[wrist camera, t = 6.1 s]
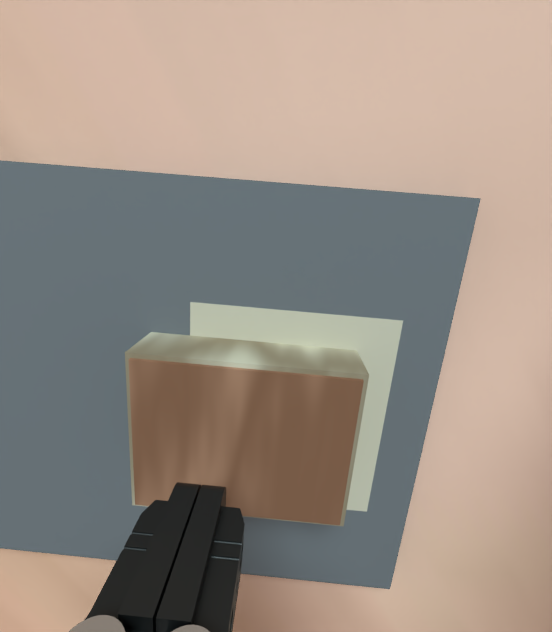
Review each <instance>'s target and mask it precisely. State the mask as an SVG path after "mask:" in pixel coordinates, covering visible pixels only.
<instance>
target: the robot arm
mask: <svg viewBox="0 0 552 632" xmlns="http://www.w3.org/2000/svg"><path fill="white" fill-rule="evenodd" d="M244 527H245V524H244V520H243V517H242V513H241V510H240V508H234V507H226V487H222V486H212V485H201V484H191V483H181V482H177V483H176V484H175V486H174V488H173V491H172V493H171V495H170V497H169V500H168V501H163V500H155V501H154V502H153V503H152V504H151V505H150V506H149V507H147V508H146V509H145V510H144V511H143V512H142V513H141V515H140V517H139V519H138V521H137V522H136V524H135V526H134V528H133V530H132V534H131V535H130V536H129V538H128V540H127V542H126V544H125V546H124V549H123V550H122V551H121V553H120V555H119V557H118V559H117V561H116V563H115V565H114V567H113V569H112V571H111V573H110V575H109V577H108V579H107V580H106V582H105V584H104V586H103V588H102V590H101V592H100V594H99V596H98V598H97V600H96V602H95V604H94V606H93V608H92V609H91V611H90V613H89V615H88V616H87V617H86V619H85V620H84V621H82V622H80V623H79V624H77V625H76V626H75V627H73V628H72V629H71V630H70V631H69V632H232V629H233V622H234V615H235V608H236V601H237V595H238V588H239V581H240V574H241V567H242V557H243V542H244Z"/></svg>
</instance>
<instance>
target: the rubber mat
mask: <svg viewBox="0 0 552 632" xmlns="http://www.w3.org/2000/svg"><path fill="white" fill-rule="evenodd" d="M479 203H480V199H479V198H467V197H454V196H441V195H429V194H416V193H404V192H391V191H378V190H366V189H353V188H340V187H328V186H315V185H302V184H290V183H277V182H264V181H252V180H239V179H226V178H214V177H201V176H188V175H176V174H163V173H151V172H138V171H125V170H113V169H100V168H87V167H75V166H62V165H49V164H37V163H24V162H11V161H0V548H4V549H13V550H23V551H32V552H42V553H51V554H61V555H70V556H80V557H89V558H99V559H108V560H117V559H118V557H119V555H120V553H121V551H122V550H123V549H124V546H125V544H126V542H127V540H128V538H129V536H130V535H131V534H132V530H133V528H134V526H135V524H136V522H137V521H138V519H139V517H140V515H141V513H142V512H143V511H144V510H145V509H146V508H147V507H146V506H136V505H132V491H131V470H130V449H129V429H128V408H127V387H126V367H125V352H126V351H127V350H129V349H130V348H131V347H132V346H134V345H135V344H136V343H138V342H139V341H140V340H141V339H143V338H144V337H145V336H147V335H148V334H149V333H150V332H158V333H169V334H180V335H191V336H202V337H213V338H225V339H236V340H247V341H258V342H269V343H280V344H291V345H303V346H314V347H325V348H336V349H347V350H357V352H358V354H359V356H360V357H361V359H362V361H363V363H364V365H365V367H366V369H367V371H368V373H369V379H368V385H367V391H366V397H365V403H364V409H363V415H362V421H361V427H360V433H359V438H358V444H357V450H356V456H355V462H354V468H353V474H352V480H351V486H350V492H349V497H348V503H347V509H346V515H345V521H344V527H343V526H333V525H323V524H313V523H303V522H293V521H283V520H274V519H264V518H254V517H244V516H242V517H243V520H244V524H245V527H244V542H243V557H242V567H241V574H251V575H260V576H270V577H279V578H289V579H298V580H308V581H317V582H327V583H336V584H346V585H355V586H365V587H374V588H384V589H390V586H391V582H392V577H393V573H394V569H395V565H396V560H397V556H398V552H399V547H400V543H401V539H402V534H403V530H404V526H405V521H406V517H407V513H408V509H409V504H410V500H411V496H412V491H413V487H414V483H415V478H416V474H417V470H418V465H419V461H420V457H421V453H422V448H423V444H424V440H425V435H426V431H427V427H428V422H429V418H430V414H431V410H432V405H433V401H434V397H435V392H436V388H437V384H438V379H439V375H440V371H441V366H442V362H443V358H444V354H445V349H446V345H447V341H448V336H449V332H450V328H451V323H452V319H453V315H454V310H455V306H456V302H457V298H458V293H459V289H460V285H461V280H462V276H463V272H464V267H465V263H466V259H467V254H468V250H469V246H470V242H471V237H472V233H473V229H474V224H475V220H476V216H477V211H478V207H479Z"/></svg>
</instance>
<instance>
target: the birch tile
mask: <svg viewBox="0 0 552 632" xmlns="http://www.w3.org/2000/svg"><path fill="white" fill-rule="evenodd" d="M125 367H126V387H127V408H128V429H129V449H130V470H131V491H132V505H136V506H146V507H149V506H150V505H151V504H152V503H153V502H154V501H155V500H163V501H168V500H169V497H170V495H171V493H172V491H173V488H174V486H175V484H176V483H177V482H181V483H191V484H201V485H212V486H222V487H226V507H234V508H240V510H241V513H242V516H244V517H254V518H264V519H274V520H283V521H293V522H303V523H313V524H323V525H333V526H343V527H344V521H345V515H346V509H347V503H348V497H349V492H350V486H351V480H352V474H353V468H354V462H355V456H356V450H357V444H358V438H359V433H360V427H361V421H362V415H363V409H364V403H365V397H366V391H367V385H368V379H369V373H368V371H367V369H366V367H365V365H364V363H363V361H362V359H361V357H360V356H359V354H358V352H357V350H347V349H336V348H325V347H314V346H303V345H291V344H280V343H269V342H258V341H247V340H236V339H225V338H213V337H202V336H191V335H180V334H169V333H158V332H150V333H149V334H148V335H147V336H145V337H144V338H143V339H141V340H140V341H139V342H138V343H136V344H135V345H134V346H132V347H131V348H130V349H129V350H127V351H126V352H125Z"/></svg>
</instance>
